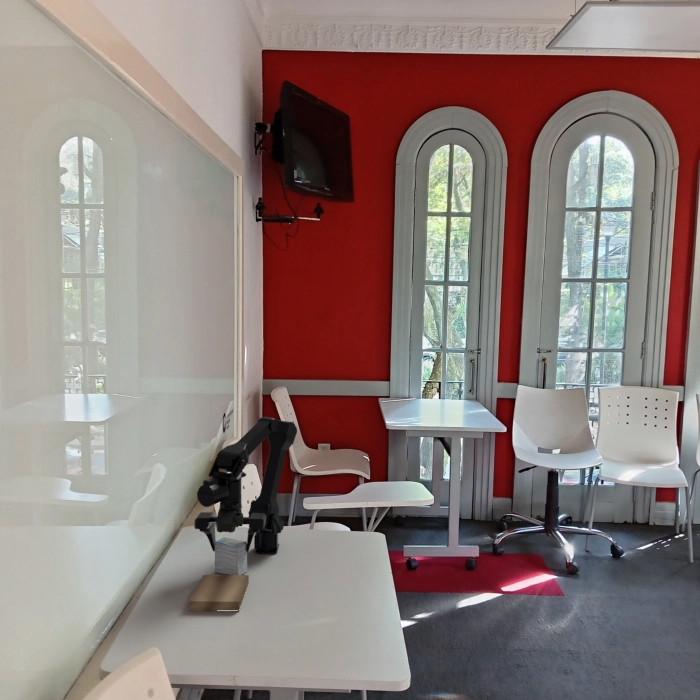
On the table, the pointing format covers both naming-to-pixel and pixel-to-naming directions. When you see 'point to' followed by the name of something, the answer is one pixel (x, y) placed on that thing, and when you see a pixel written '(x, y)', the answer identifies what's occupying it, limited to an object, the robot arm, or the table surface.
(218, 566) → the medicine box
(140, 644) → the table surface
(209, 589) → the flat brown cardboard box
